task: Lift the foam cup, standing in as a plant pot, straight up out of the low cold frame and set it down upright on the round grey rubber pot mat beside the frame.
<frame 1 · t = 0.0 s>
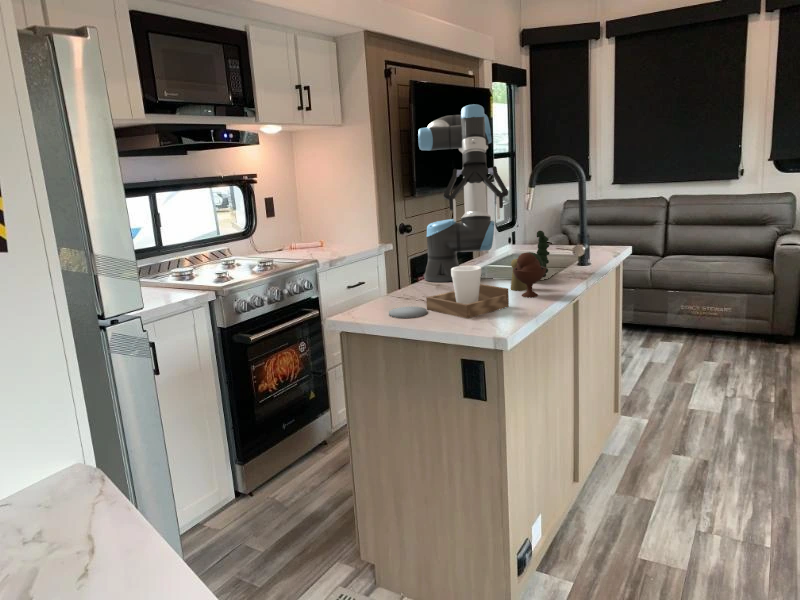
hand: (476, 219, 195), 28 cm above the countertop, tool tilted 20°, fingers open, 13 cm apart
ice cream bowl: (529, 296, 210), on the countertop
foam cup: (467, 308, 198), resting in cold frame
toy figurine: (534, 279, 238), on the countertop
rubber pot mat: (407, 313, 196), on the countertop
cork: (519, 289, 221), on the countertop
cold frame: (467, 308, 198), on the countertop
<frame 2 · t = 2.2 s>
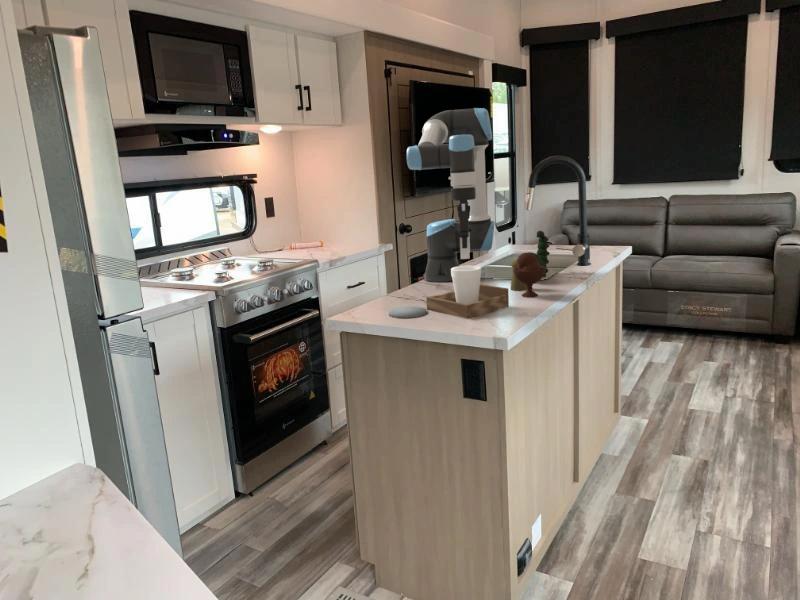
hand: (465, 255, 194), 17 cm above the countertop, tool pointing down, fingers open, 13 cm apart
nothing on the countertop moved.
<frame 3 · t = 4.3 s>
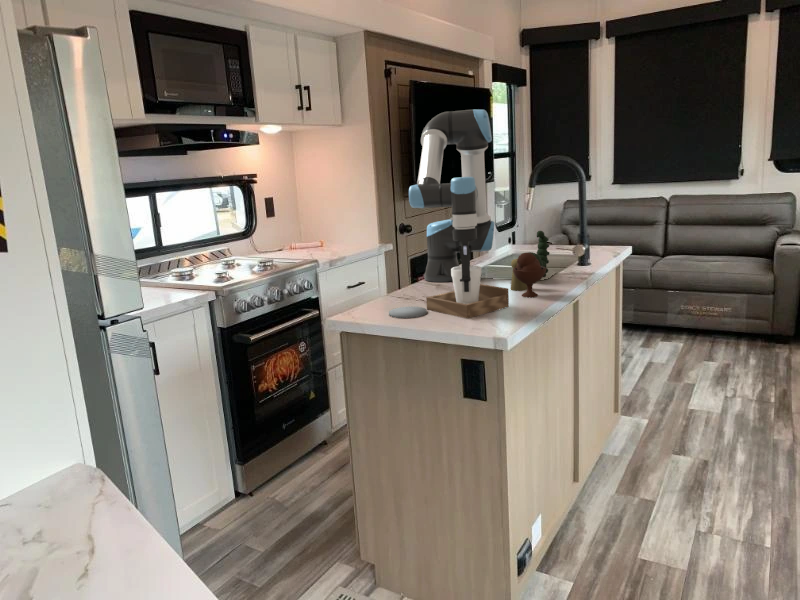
hand: (467, 298, 197), 3 cm above the countertop, tool pointing down, fingers closed on foam cup, 9 cm apart
foam cup: (467, 308, 198), resting in cold frame, touching gripper
everything else where it was.
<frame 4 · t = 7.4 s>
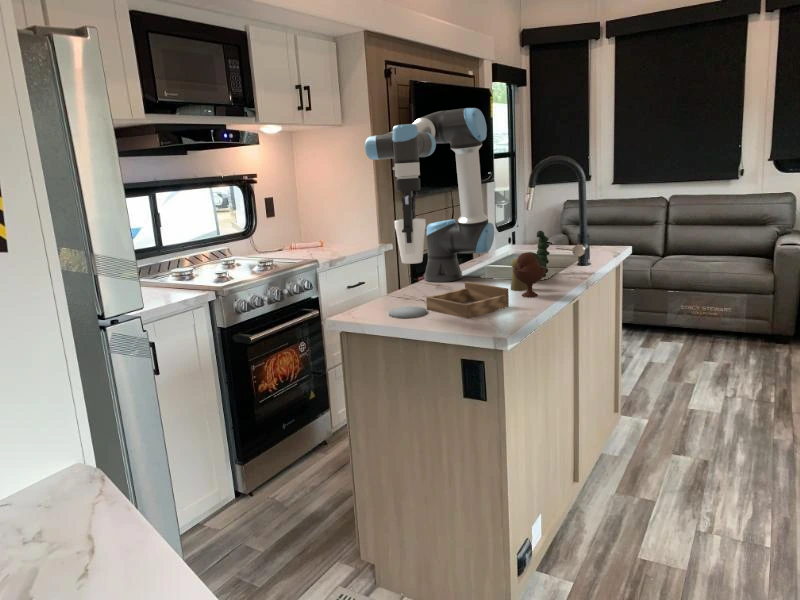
hand: (411, 251, 192), 20 cm above the countertop, tool pointing down, fingers closed on foam cup, 9 cm apart
foam cup: (412, 262, 193), point 16 cm above the countertop, touching gripper
everything else where it was.
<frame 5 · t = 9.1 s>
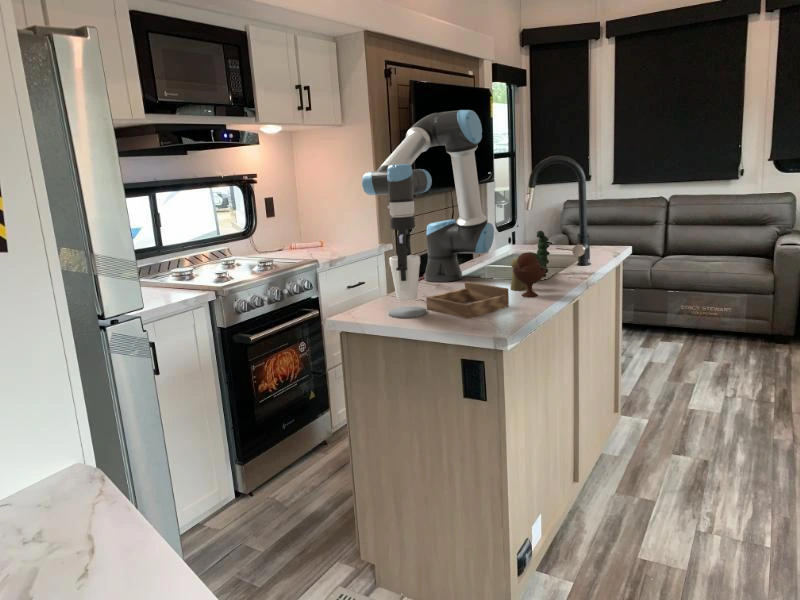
hand: (406, 287, 194), 8 cm above the countertop, tool pointing down, fingers closed on foam cup, 9 cm apart
foam cup: (407, 298, 195), point 5 cm above the countertop, touching gripper
everything else where it was.
when the fingers open (5 cm above the countertop, at t = 10.6 s): foam cup drops 1 cm, resting on rubber pot mat.
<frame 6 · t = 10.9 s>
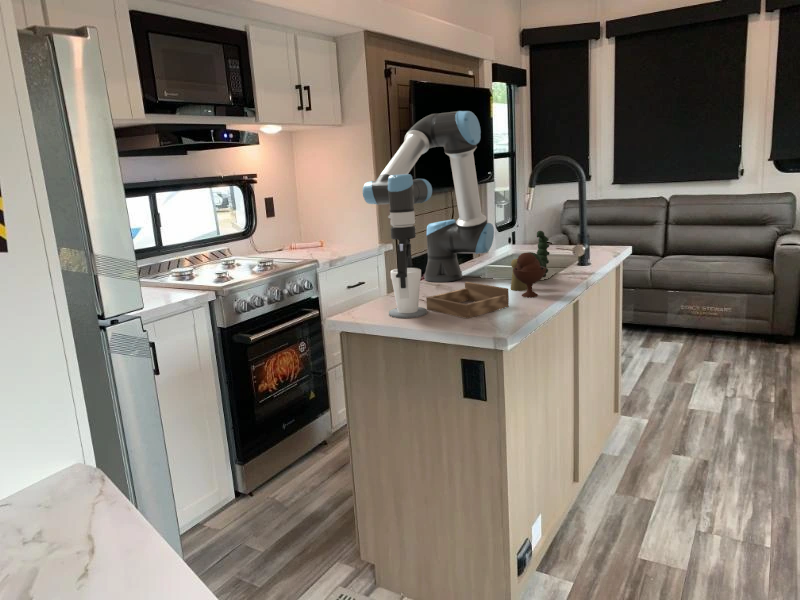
hand: (406, 293, 195), 6 cm above the countertop, tool pointing down, fingers open, 13 cm apart
foam cup: (407, 311, 196), point 1 cm above the countertop, touching rubber pot mat
everything else where it was.
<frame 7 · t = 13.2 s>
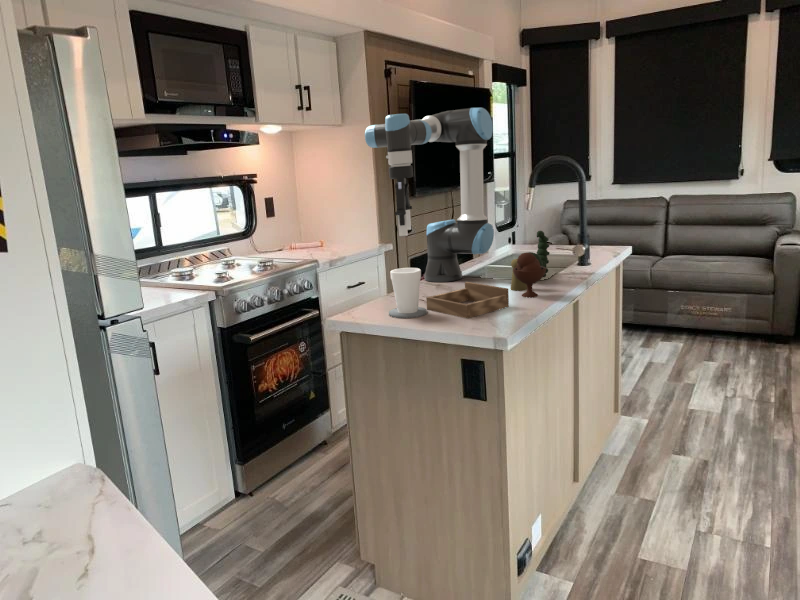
hand: (405, 232, 199), 25 cm above the countertop, tool pointing down, fingers open, 13 cm apart
nothing on the countertop moved.
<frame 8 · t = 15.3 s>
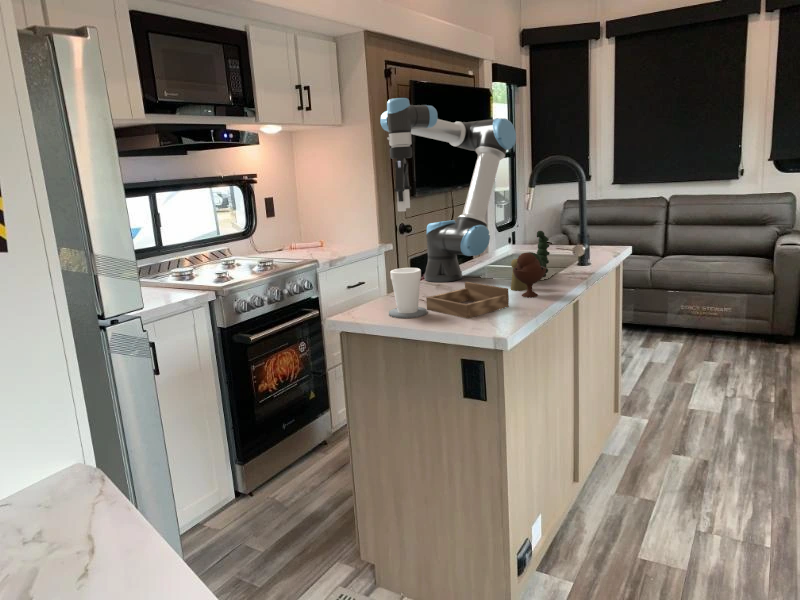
hand: (404, 209, 214), 31 cm above the countertop, tool pointing down, fingers open, 13 cm apart
nothing on the countertop moved.
at the end: foam cup 0.1 cm from the rubber pot mat (horizontally); foam cup tilted 0°; the gripper is holding nothing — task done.
